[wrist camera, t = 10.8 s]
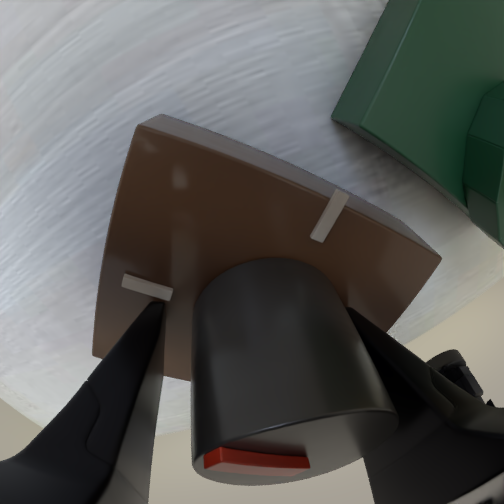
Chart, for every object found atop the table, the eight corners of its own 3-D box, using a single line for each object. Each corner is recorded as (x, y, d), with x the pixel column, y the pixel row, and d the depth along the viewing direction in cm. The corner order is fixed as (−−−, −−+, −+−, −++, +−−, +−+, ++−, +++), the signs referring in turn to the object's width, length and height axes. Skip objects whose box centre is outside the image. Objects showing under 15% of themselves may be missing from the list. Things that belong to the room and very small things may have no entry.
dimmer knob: (362, 299, 9) (433, 427, 5) (273, 376, 10) (299, 494, 6) (255, 225, 7) (311, 411, 3) (166, 333, 9) (156, 485, 4)
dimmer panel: (305, 354, 15) (321, 404, 12) (108, 308, 12) (90, 364, 9) (405, 214, 11) (450, 254, 8) (163, 104, 8) (139, 111, 5)
